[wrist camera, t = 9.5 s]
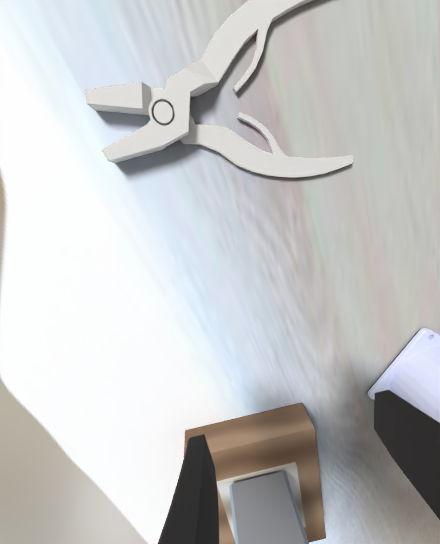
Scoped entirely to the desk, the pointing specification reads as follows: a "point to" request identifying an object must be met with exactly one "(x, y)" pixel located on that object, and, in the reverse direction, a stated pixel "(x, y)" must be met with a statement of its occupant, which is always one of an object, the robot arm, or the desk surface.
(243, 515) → the block
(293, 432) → the stand
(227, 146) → the pliers
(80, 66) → the desk surface
